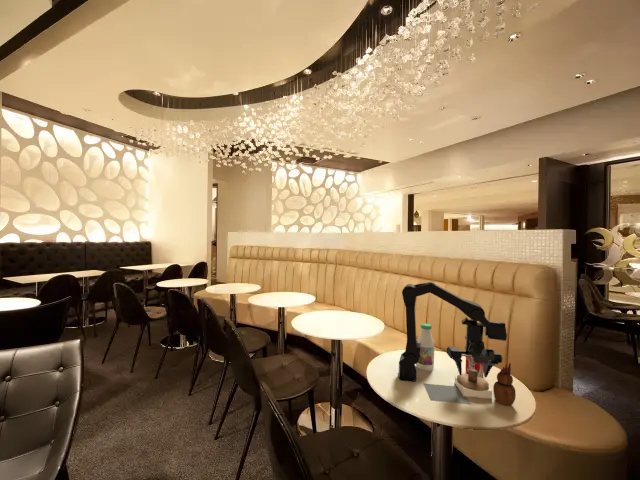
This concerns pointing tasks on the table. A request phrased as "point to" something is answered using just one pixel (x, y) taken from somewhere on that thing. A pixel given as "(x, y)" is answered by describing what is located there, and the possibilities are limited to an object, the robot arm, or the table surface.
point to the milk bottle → (426, 348)
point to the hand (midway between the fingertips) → (472, 376)
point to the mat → (445, 393)
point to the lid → (472, 381)
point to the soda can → (474, 366)
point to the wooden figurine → (504, 387)
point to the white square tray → (473, 391)
